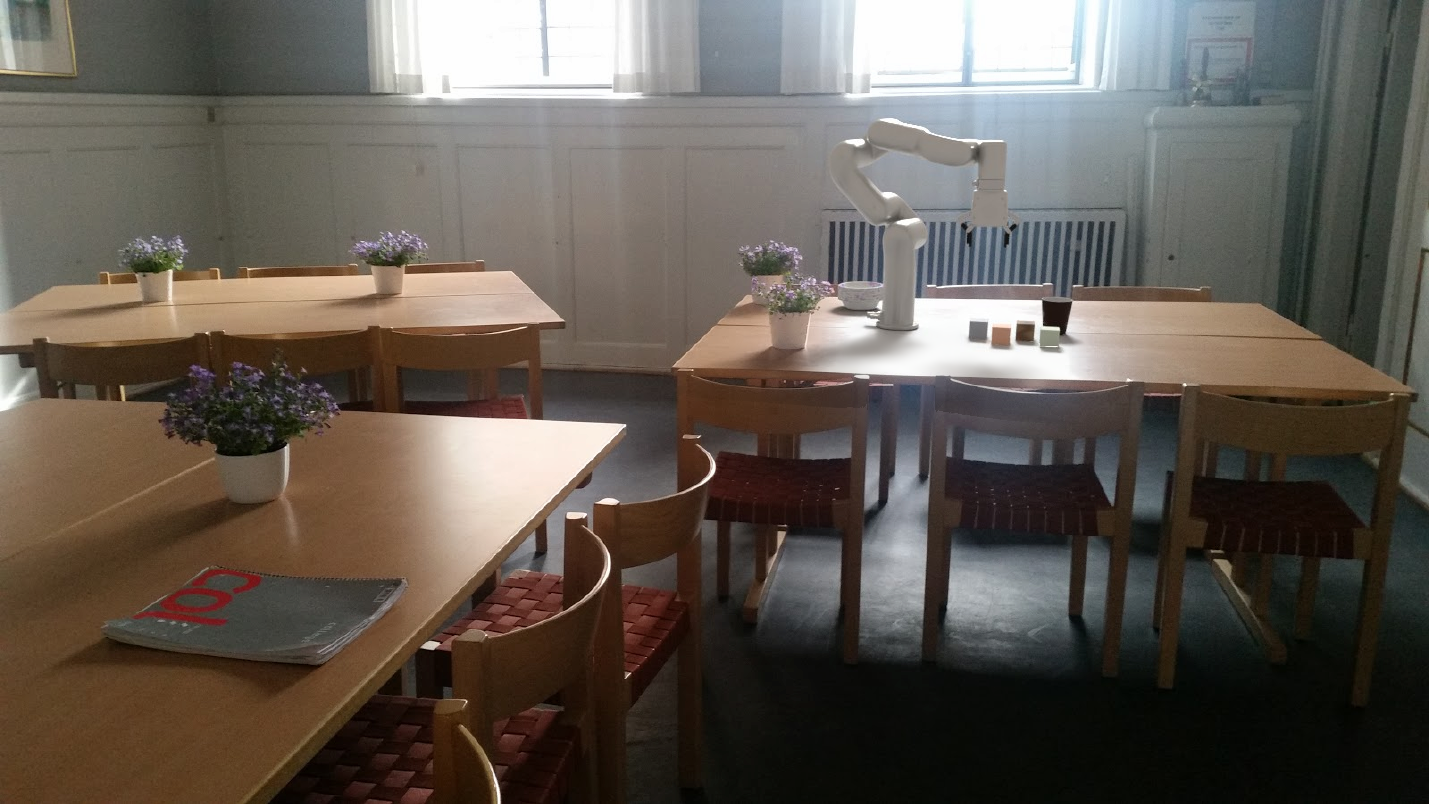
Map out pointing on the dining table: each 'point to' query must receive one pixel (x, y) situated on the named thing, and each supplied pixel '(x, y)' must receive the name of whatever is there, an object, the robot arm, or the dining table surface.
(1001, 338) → the terracotta cube
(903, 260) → the robot arm
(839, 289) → the white floral bowl
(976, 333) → the slate cube
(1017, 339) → the walnut cube
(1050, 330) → the sage cube
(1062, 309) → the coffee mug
